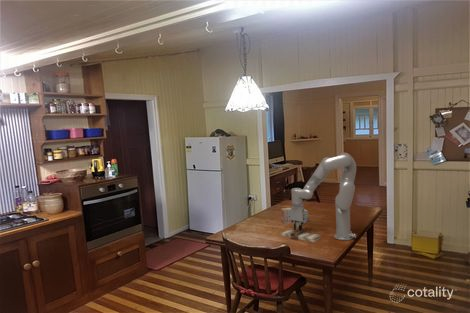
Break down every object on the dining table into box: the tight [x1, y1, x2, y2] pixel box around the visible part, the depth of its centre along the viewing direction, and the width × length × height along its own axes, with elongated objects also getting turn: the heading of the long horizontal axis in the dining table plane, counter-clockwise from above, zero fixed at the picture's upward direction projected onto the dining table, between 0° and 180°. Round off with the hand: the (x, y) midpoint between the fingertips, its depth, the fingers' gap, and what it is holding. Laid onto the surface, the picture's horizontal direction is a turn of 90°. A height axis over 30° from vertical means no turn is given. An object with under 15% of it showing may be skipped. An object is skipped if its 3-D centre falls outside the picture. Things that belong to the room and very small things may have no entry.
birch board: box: [281, 229, 322, 243], centre depth 240 cm, size 26×10×2 cm, turn 50°
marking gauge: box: [289, 221, 306, 240], centre depth 241 cm, size 5×14×10 cm, turn 140°
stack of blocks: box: [280, 206, 310, 225], centre depth 276 cm, size 21×6×12 cm, turn 101°
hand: (298, 229), depth 241 cm, fingers closed on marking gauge, 3 cm apart
